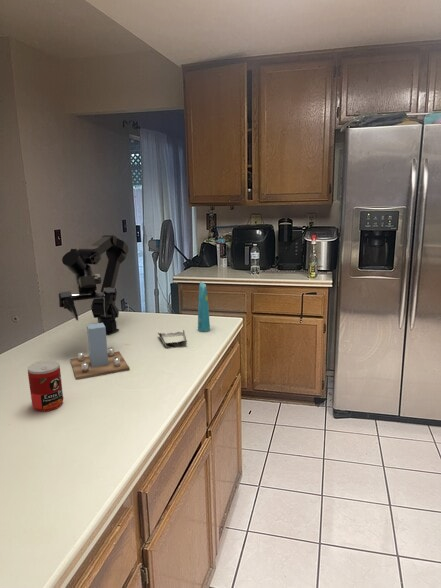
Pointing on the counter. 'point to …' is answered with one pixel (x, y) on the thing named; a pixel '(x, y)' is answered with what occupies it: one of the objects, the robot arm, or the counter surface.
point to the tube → (203, 309)
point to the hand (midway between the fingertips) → (91, 318)
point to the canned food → (45, 385)
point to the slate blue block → (97, 344)
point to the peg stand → (85, 369)
